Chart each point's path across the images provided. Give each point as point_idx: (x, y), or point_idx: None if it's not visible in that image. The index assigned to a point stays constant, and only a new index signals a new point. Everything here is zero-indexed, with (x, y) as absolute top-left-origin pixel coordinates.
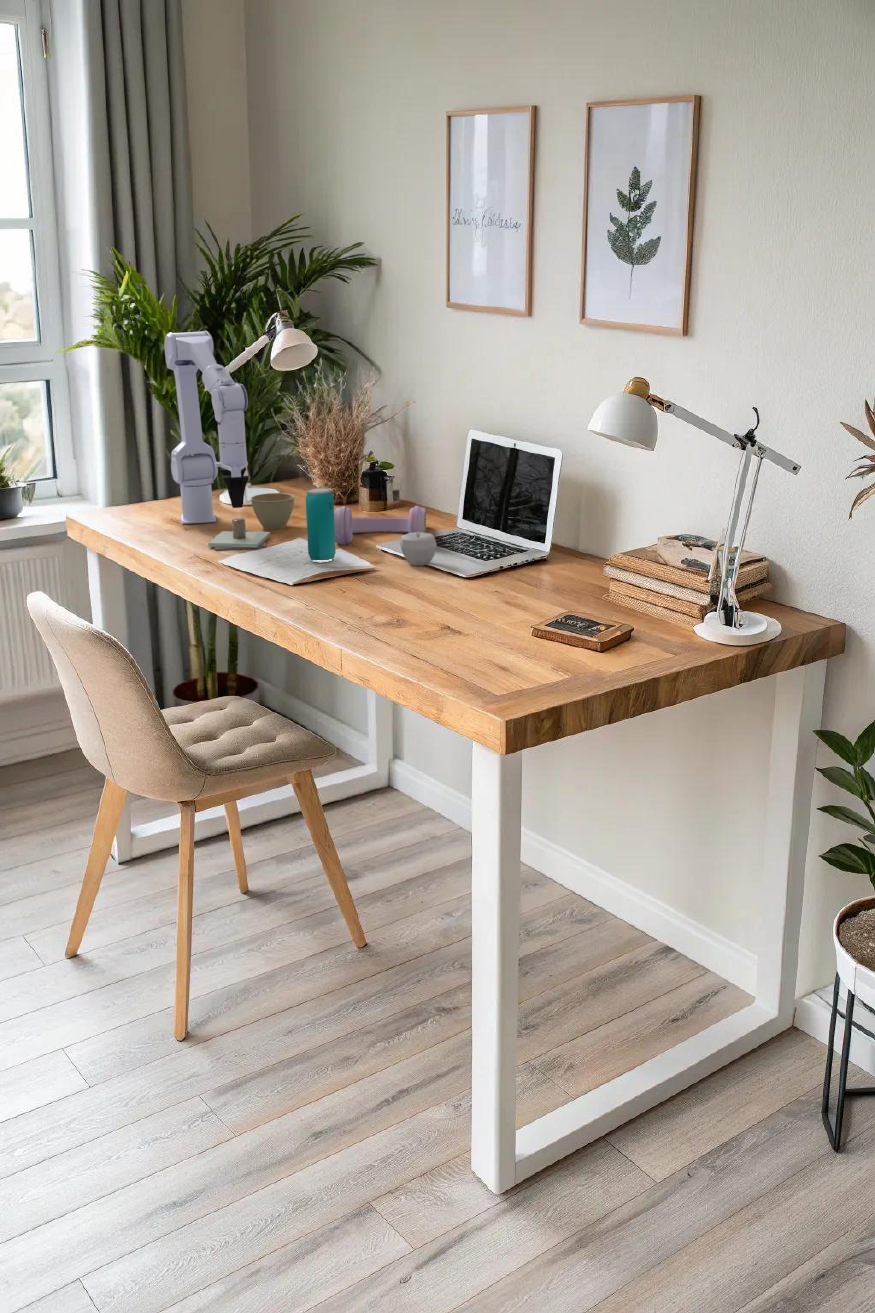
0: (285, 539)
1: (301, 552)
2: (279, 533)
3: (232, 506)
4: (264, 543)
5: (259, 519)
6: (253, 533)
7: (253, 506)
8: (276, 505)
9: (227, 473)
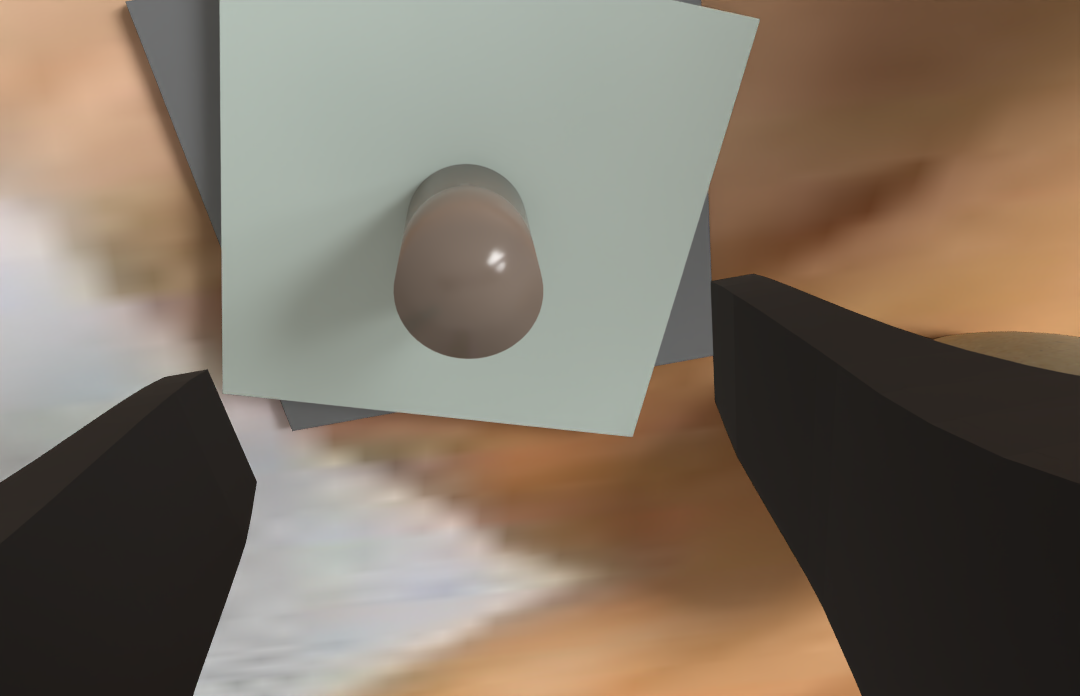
0: (541, 509)
1: None
2: (728, 456)
3: (154, 384)
4: (369, 411)
5: None
6: (602, 324)
7: None
8: None
9: (1015, 613)
